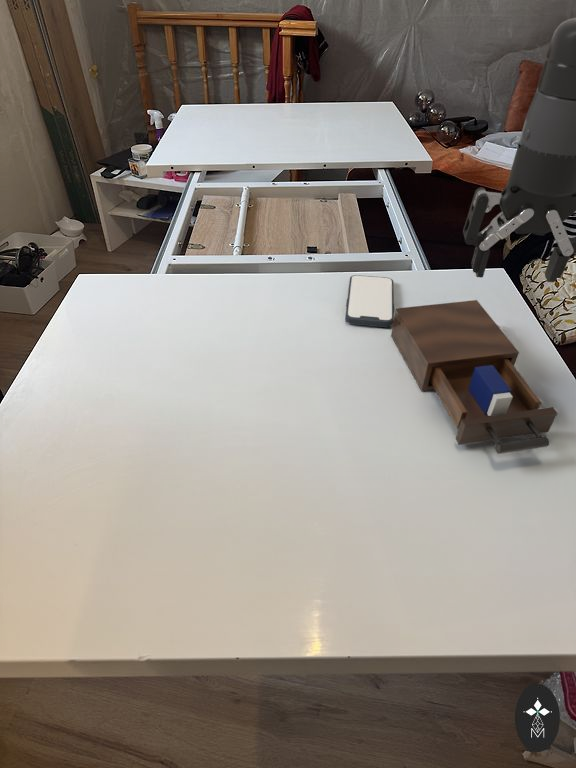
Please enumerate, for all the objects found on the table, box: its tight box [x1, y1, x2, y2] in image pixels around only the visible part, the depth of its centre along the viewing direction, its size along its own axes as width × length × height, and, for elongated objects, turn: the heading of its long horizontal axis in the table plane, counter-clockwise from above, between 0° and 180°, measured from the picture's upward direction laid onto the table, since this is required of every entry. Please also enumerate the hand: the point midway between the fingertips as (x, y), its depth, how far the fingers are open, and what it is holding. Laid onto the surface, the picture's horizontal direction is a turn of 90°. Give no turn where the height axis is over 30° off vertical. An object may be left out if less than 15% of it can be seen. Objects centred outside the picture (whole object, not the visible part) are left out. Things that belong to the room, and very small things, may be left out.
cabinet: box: [390, 299, 520, 392], centre depth 88 cm, size 15×15×6 cm
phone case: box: [344, 274, 395, 328], centre depth 101 cm, size 9×2×16 cm
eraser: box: [468, 365, 513, 416], centre depth 77 cm, size 3×7×4 cm, turn 11°
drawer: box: [429, 358, 558, 455], centre depth 77 cm, size 18×14×4 cm
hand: (513, 276), depth 66 cm, fingers open, 8 cm apart
